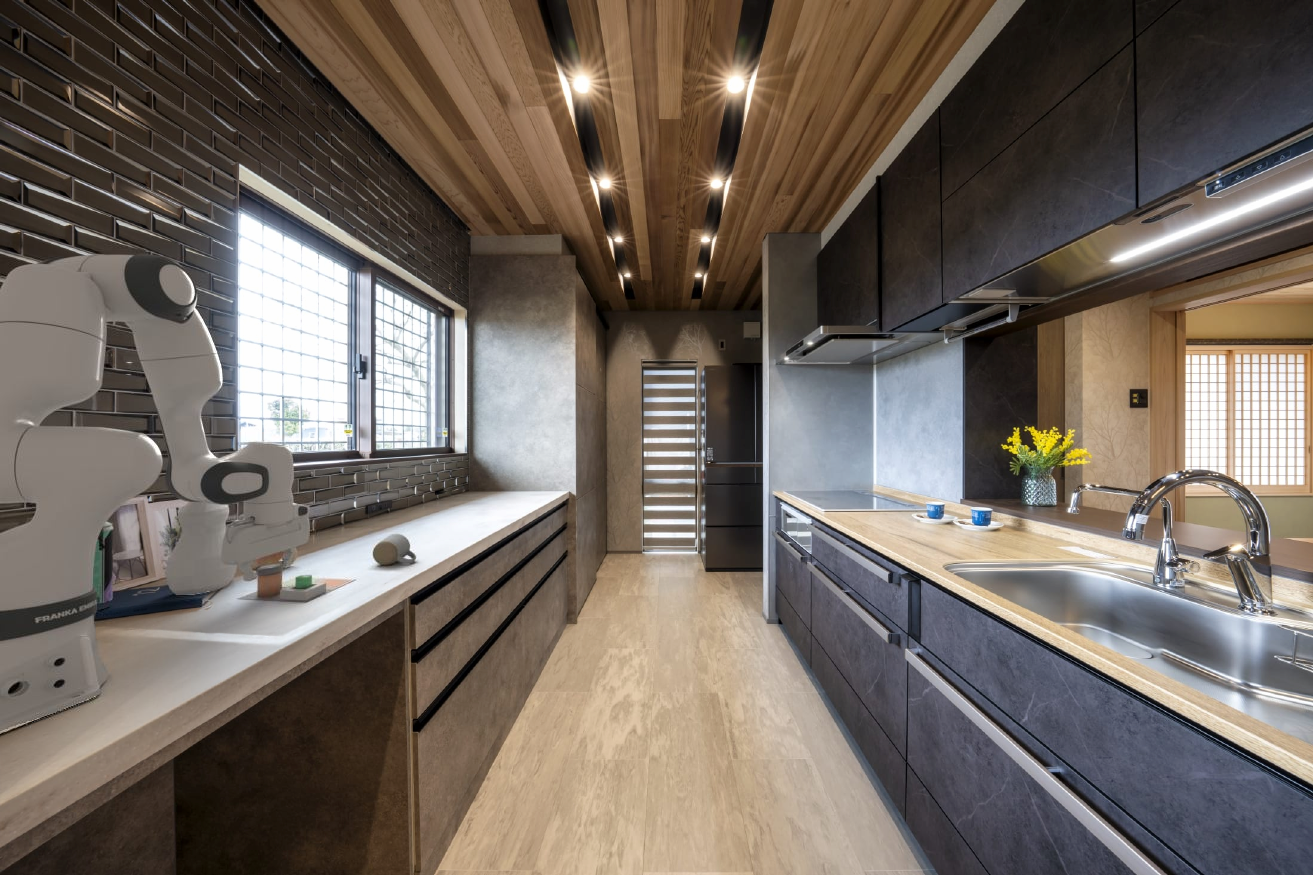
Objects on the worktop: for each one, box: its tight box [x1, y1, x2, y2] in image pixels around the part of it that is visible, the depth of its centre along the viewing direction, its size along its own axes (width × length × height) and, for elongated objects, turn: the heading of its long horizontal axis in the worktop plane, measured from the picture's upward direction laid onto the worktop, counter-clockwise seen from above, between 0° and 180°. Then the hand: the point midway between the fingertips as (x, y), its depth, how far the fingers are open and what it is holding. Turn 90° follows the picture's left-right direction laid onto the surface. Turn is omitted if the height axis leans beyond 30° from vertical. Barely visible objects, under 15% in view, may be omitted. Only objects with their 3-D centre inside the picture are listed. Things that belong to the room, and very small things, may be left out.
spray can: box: [93, 521, 114, 604], centre depth 101 cm, size 6×6×20 cm
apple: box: [256, 546, 298, 567], centre depth 131 cm, size 9×9×8 cm
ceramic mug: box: [372, 533, 417, 566], centre depth 141 cm, size 11×8×8 cm
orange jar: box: [256, 565, 284, 597], centre depth 110 cm, size 5×5×6 cm
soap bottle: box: [164, 501, 238, 596], centre depth 113 cm, size 17×12×29 cm
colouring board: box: [237, 576, 356, 604], centre depth 114 cm, size 16×16×3 cm
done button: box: [295, 574, 313, 589], centre depth 109 cm, size 3×3×2 cm
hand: (268, 573), depth 110 cm, fingers open, 8 cm apart
